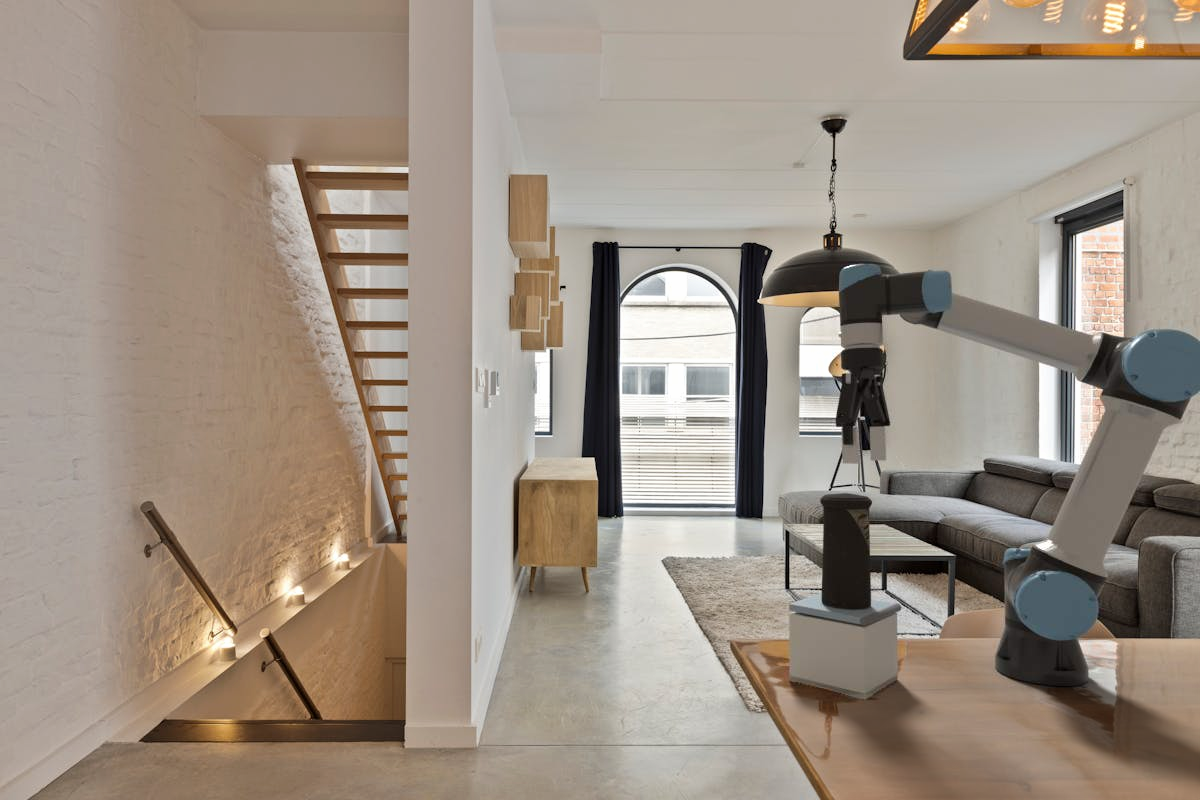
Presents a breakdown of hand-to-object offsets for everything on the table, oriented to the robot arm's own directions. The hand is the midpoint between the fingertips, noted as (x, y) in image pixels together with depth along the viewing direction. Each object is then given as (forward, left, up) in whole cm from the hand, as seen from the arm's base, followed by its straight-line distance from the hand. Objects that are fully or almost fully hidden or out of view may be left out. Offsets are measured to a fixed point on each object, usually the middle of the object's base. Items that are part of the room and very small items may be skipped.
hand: (865, 462), depth 144 cm
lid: (+1, +6, -27) cm, 27 cm away
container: (+1, +6, -26) cm, 26 cm away
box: (+2, +6, -39) cm, 40 cm away
